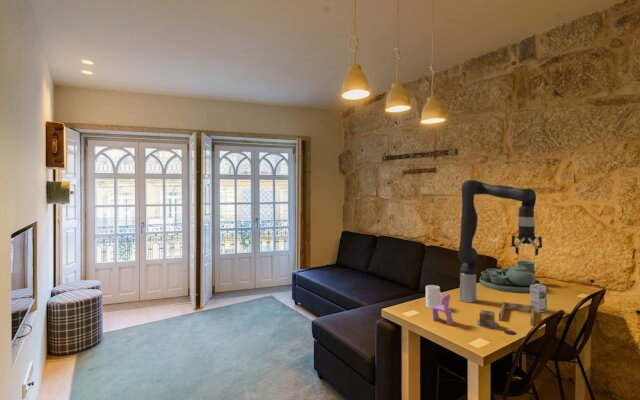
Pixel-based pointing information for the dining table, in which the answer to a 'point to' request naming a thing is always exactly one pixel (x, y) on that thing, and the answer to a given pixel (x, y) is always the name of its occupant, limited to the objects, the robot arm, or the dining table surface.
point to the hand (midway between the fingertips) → (526, 254)
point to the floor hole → (509, 332)
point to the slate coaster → (488, 327)
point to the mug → (433, 296)
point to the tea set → (511, 278)
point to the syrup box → (538, 297)
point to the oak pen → (519, 308)
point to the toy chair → (443, 309)
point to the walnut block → (487, 318)
